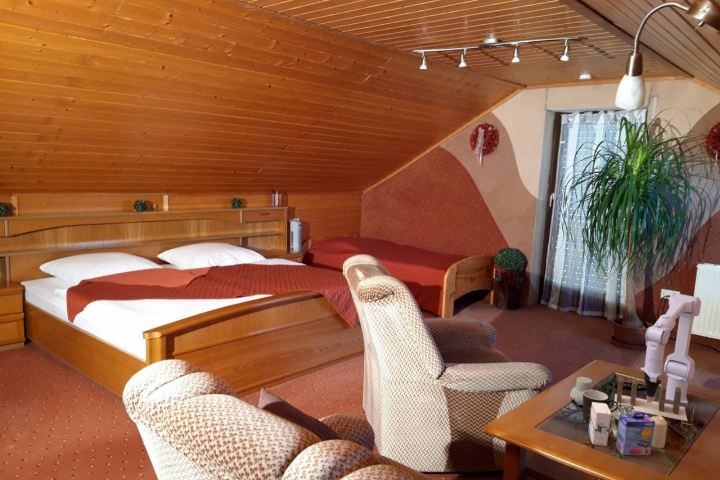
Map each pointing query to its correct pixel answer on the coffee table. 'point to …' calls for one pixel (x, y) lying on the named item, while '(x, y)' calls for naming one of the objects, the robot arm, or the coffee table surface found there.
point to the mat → (653, 408)
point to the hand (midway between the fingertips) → (650, 393)
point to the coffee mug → (596, 397)
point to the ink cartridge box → (635, 434)
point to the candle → (659, 432)
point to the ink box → (599, 423)
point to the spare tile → (649, 399)
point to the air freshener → (581, 389)
